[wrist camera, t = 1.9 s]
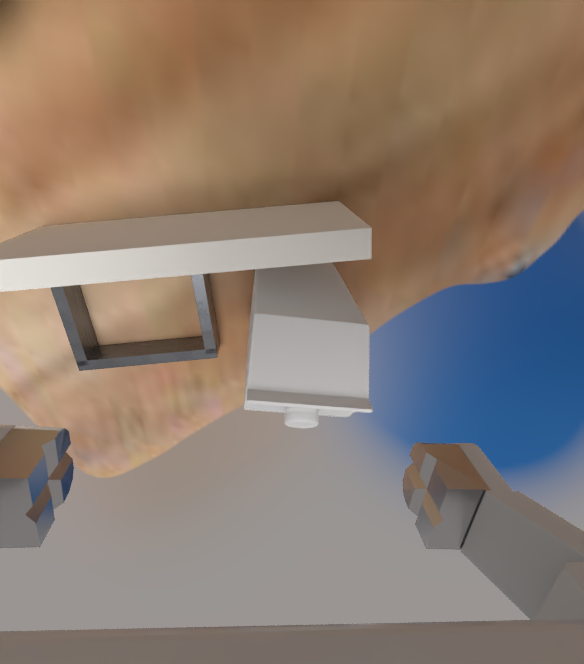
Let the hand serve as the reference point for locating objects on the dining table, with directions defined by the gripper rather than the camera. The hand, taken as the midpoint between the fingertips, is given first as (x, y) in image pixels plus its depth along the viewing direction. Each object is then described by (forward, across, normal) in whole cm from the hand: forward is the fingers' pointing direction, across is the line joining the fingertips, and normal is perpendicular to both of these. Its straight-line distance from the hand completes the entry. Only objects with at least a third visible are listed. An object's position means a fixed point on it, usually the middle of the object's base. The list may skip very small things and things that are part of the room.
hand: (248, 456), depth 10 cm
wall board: (+30, +5, 0) cm, 30 cm away
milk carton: (+30, -4, +6) cm, 31 cm away
